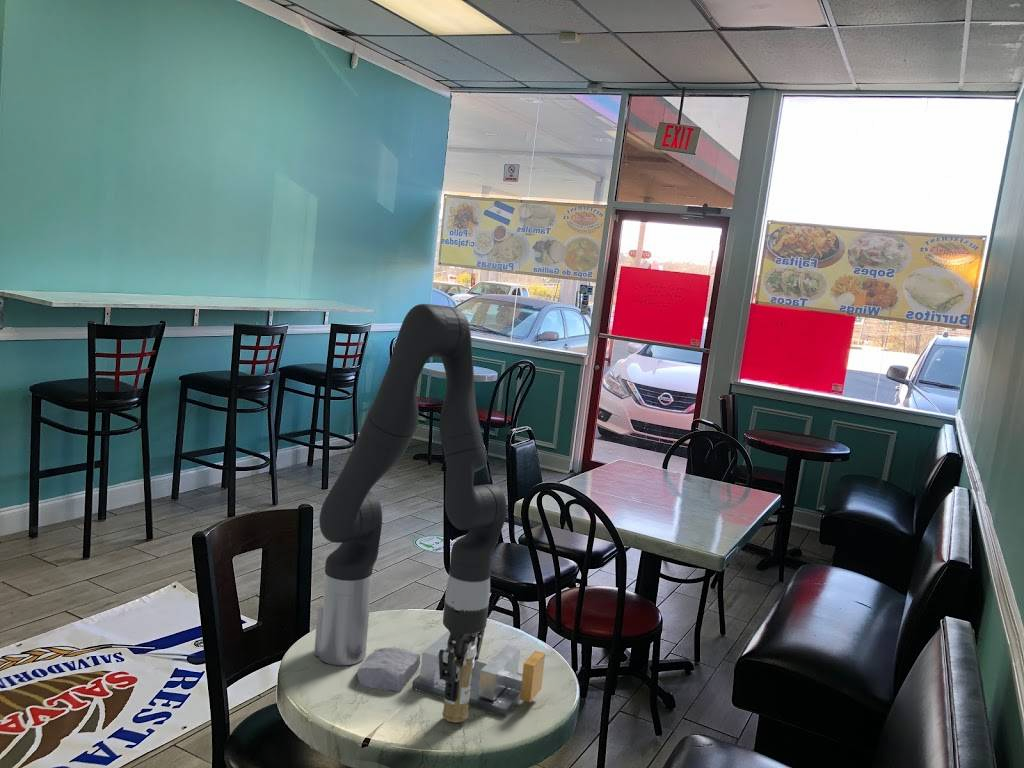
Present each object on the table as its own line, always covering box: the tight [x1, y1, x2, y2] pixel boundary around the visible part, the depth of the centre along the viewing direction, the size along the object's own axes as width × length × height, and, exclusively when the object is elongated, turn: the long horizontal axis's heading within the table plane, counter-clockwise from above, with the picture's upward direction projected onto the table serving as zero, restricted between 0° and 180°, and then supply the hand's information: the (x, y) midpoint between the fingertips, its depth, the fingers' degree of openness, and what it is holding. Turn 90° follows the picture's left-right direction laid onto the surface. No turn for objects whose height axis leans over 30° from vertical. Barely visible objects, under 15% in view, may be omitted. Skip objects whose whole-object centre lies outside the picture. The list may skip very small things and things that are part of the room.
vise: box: [411, 630, 523, 718], centre depth 154 cm, size 19×14×7 cm
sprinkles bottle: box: [442, 644, 475, 723], centre depth 141 cm, size 5×5×13 cm
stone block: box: [356, 646, 421, 692], centre depth 156 cm, size 12×5×10 cm
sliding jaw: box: [478, 645, 546, 703], centre depth 151 cm, size 9×12×7 cm
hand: (457, 693), depth 141 cm, fingers closed on sprinkles bottle, 4 cm apart
